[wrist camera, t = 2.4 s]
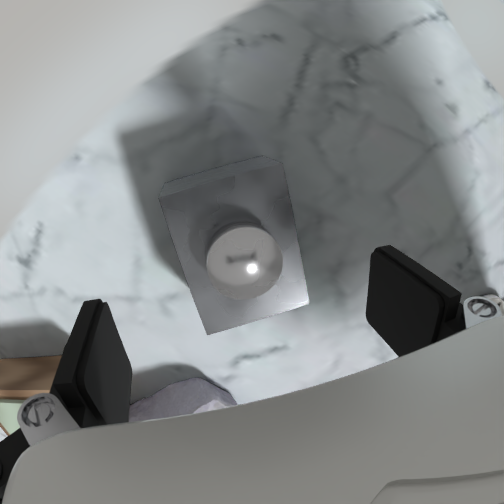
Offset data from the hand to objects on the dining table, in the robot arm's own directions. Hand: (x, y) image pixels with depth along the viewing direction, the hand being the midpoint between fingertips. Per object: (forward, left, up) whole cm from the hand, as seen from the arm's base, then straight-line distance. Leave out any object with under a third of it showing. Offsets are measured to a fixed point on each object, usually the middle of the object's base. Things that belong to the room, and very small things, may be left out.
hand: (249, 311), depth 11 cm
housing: (-1, 0, -10) cm, 10 cm away
